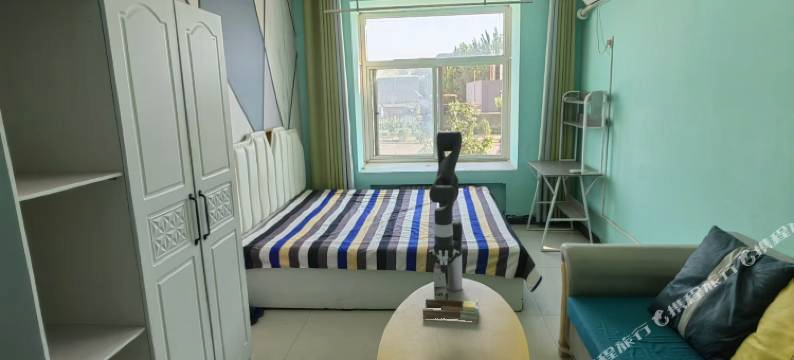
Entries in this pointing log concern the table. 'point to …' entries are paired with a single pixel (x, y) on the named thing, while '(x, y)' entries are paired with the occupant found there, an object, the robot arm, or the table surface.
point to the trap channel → (449, 310)
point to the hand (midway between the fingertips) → (444, 272)
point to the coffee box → (441, 283)
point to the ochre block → (469, 306)
